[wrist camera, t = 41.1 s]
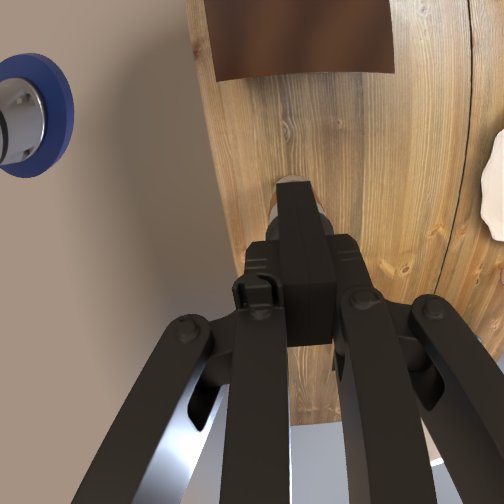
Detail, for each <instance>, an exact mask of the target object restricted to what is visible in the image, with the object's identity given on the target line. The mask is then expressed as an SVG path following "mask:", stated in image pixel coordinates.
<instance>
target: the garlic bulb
mask: <svg viewBox="0 0 504 504" xmlns="http://www.w3.org/2000/svg"><path fill="white" fill-rule="evenodd" d="M501 282H502V284H503V285H504V267H503V268H502V270H501Z"/></svg>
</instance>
